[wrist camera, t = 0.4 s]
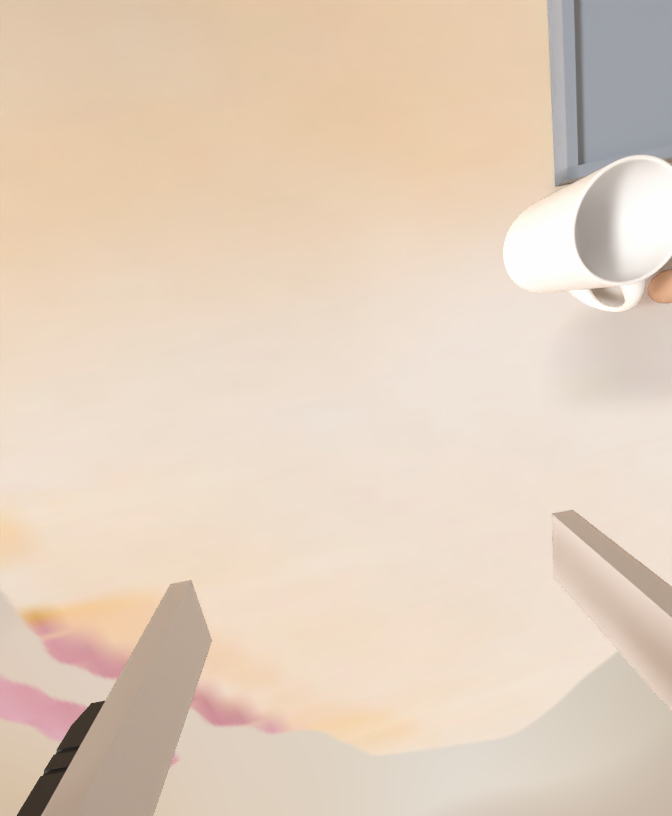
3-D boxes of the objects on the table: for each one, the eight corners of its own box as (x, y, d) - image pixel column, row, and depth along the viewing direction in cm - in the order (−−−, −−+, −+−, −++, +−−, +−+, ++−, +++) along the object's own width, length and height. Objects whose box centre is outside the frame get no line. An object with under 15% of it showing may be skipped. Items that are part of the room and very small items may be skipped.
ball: (640, 275, 37) (669, 271, 34) (670, 268, 37) (702, 264, 34) (639, 306, 38) (667, 305, 35) (669, 300, 38) (700, 298, 35)
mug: (541, 337, 38) (622, 346, 28) (483, 239, 36) (550, 208, 25) (612, 286, 37) (725, 275, 27) (559, 181, 35) (661, 124, 24)
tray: (546, -36, 30) (559, -57, 29) (710, -73, 30) (734, -96, 28) (555, 186, 35) (567, 179, 33) (699, 155, 34) (719, 146, 33)
